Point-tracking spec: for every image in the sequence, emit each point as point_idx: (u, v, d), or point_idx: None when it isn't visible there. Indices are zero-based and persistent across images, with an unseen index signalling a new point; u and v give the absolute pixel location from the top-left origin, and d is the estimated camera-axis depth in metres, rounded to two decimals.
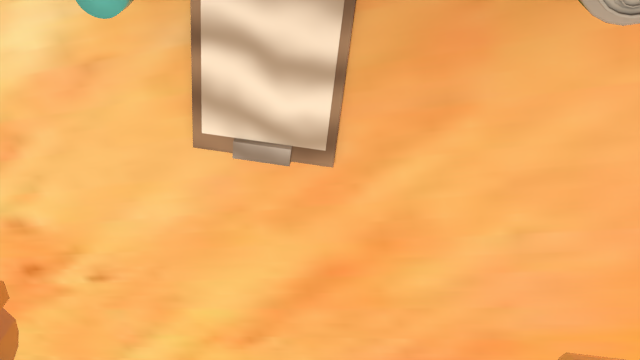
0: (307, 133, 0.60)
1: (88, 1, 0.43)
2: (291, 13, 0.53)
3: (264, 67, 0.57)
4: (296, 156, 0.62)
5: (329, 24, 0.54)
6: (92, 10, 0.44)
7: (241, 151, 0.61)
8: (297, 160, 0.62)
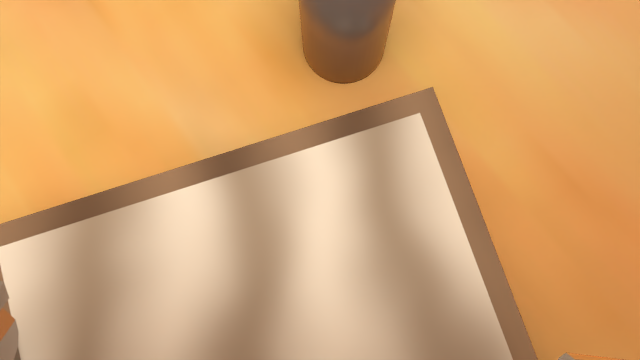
0: None
1: None
2: (369, 338, 0.24)
3: (223, 329, 0.24)
4: None
5: None
6: None
7: None
8: None
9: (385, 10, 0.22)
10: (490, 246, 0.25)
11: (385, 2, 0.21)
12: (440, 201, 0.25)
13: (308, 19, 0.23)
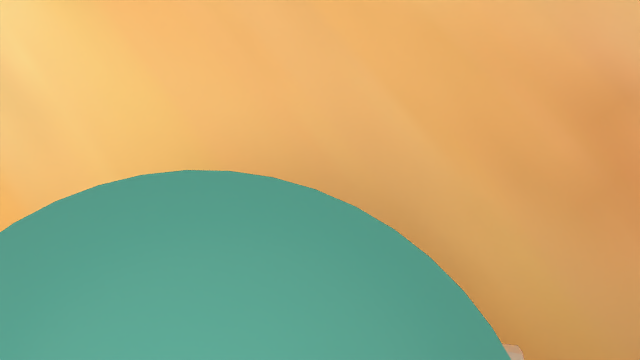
0: None
1: None
2: None
3: None
4: None
5: None
6: None
7: None
8: None
9: None
10: None
11: None
12: None
13: None
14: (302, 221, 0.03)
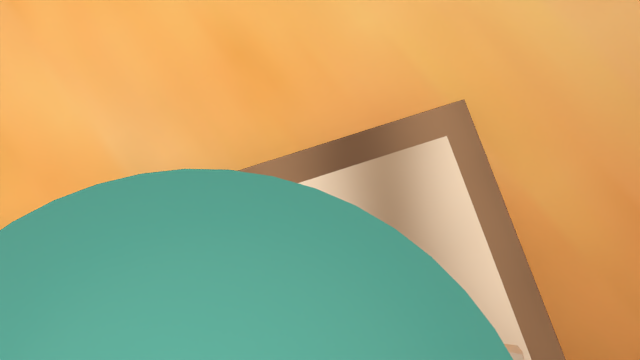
0: None
1: None
2: None
3: None
4: None
5: None
6: None
7: None
8: None
9: None
10: (548, 329, 0.17)
11: None
12: (476, 263, 0.18)
13: None
14: (302, 220, 0.03)
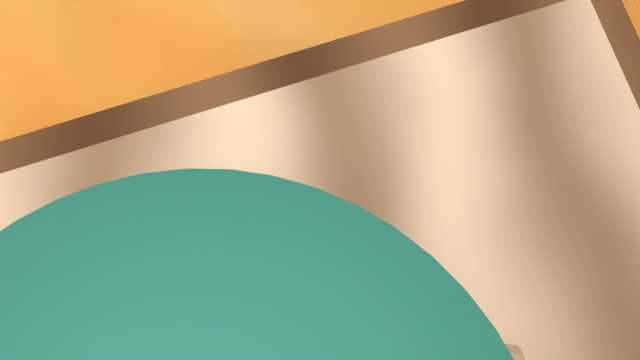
0: None
1: None
2: (528, 326, 0.16)
3: None
4: None
5: None
6: None
7: None
8: None
9: None
10: None
11: None
12: (625, 121, 0.17)
13: None
14: (303, 219, 0.03)
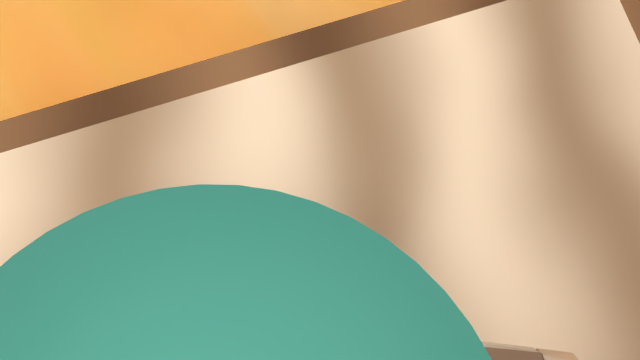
0: None
1: None
2: (548, 300, 0.16)
3: None
4: None
5: None
6: None
7: None
8: None
9: None
10: None
11: None
12: None
13: None
14: (302, 229, 0.04)
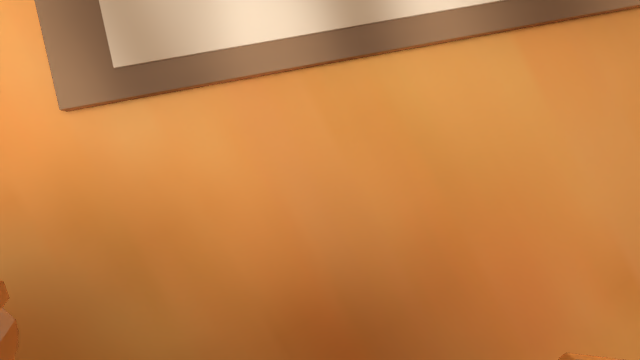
0: None
1: None
2: None
3: None
4: None
5: None
6: None
7: None
8: None
9: None
10: None
11: None
12: None
13: None
14: None
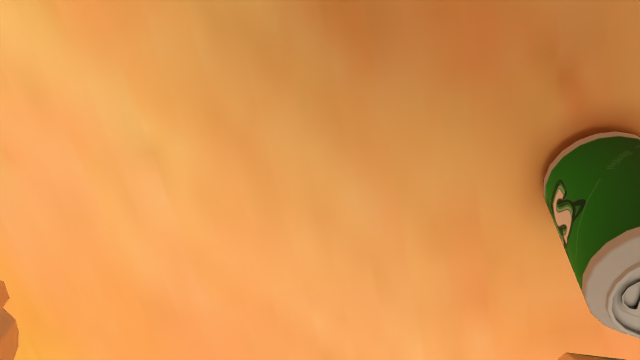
0: None
1: None
2: None
3: None
4: None
5: None
6: None
7: None
8: None
9: None
10: None
11: None
12: None
13: None
14: None
